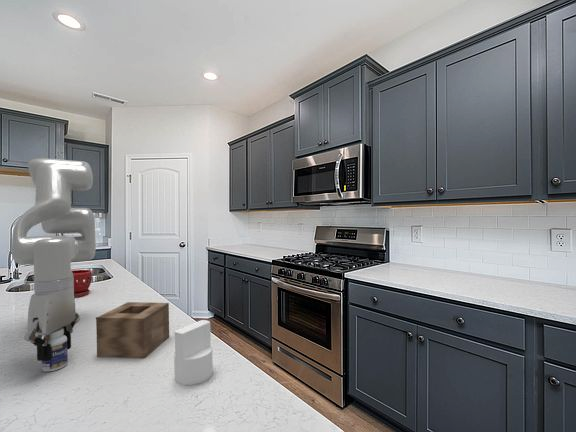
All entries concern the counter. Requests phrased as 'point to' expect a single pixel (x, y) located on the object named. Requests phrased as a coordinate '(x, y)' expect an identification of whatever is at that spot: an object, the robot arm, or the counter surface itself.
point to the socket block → (132, 329)
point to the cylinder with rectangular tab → (193, 353)
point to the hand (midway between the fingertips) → (54, 353)
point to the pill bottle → (57, 351)
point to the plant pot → (81, 282)
